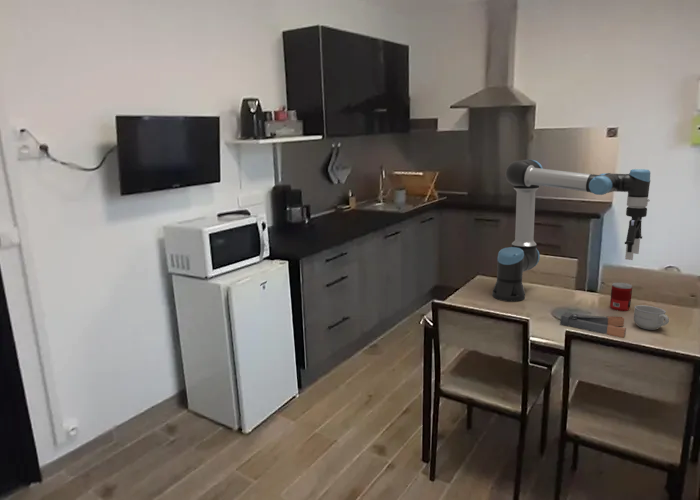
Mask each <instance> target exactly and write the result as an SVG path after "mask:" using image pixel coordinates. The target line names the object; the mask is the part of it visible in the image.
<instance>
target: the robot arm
mask: <svg viewBox="0 0 700 500" xmlns="http://www.w3.org/2000/svg"><path fill="white" fill-rule="evenodd" d="M504 174H505V178H506V181H507V182H508V183H509V184H511V185H512V186H513V189H514V190H515V191H516V202H515V203H516V204H515V205H516V206H515V231H514V232H515V234H514V238H515V239H514V241H512V242H511V246H510V247H504V248H502V249H500V250H499V251H498V253H497V267H496V282H495V284H494V286H493V288H492V293H491V294H492V297H493V298H494V299H496V300H497V301H498V300H499V301H503V302H520V301H523V300H525V299H526V291H525V288H524V284H523V275H524V274H523V273H524V272H527V271H529V270H532V269H533V268H535V267H536V266H537V265H538V263H539V262H540V258H541V255H540V254H541V253H540V252H539V250H538V249H537V243H536V242H535V239H534V236H535V214H536V213H535V212H536V210H535V209H536V192H537V191H538V190H539V189H540V187H548V188H554V189H563V190H569V191H576V192H577V191H578V192H579V191H580V192H585V193H591V194H594V195H598V196H602V195H606V194H609V193H613V192H623V193H627V199H626V206H627V207H626V210H625V216H627V217H628V218H629V217H630V218H631V219H630V220H629V221H628V230H627V235H626V241H624V245H626V248H625V257H624V260H629V261H633V259H634V255H636V254H637V255H639V254H640V253H639V252H640V244H641V239H643V236H642V220H643V218H646V217H647V214H648V203H649V202H650V198H649V193H650V184H651V171H650V169H645V168H640V169H639V168H637V169H636V168H635V169H630V170H629V173H611V172H607V173H600V174H594V173H593V174H592V173H584V172H575V171H565V170H557V169H549V168H543V165H542V164H541V163H540V162H539V161H537V160H534V159H521V160H514V161H512V162H510V163H509V164H508V166H507V167H506V170H505V173H504Z"/></svg>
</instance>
